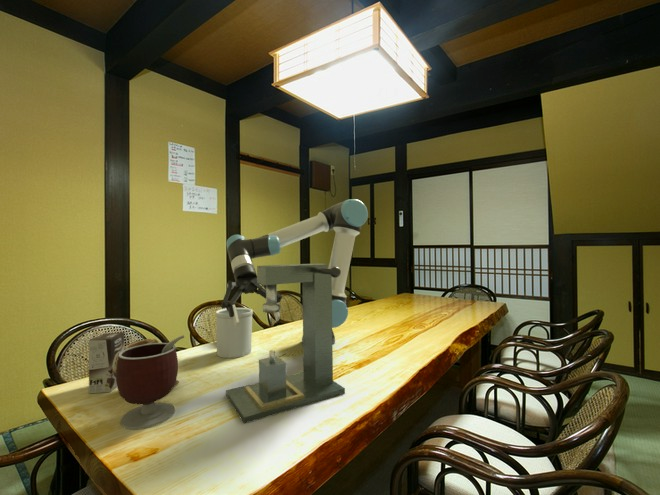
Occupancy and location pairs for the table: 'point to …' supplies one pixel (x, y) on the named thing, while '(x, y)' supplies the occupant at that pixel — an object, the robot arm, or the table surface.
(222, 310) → the utensil holder
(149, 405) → the mate gourd
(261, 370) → the block
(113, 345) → the coffee box
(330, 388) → the press
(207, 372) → the table surface
